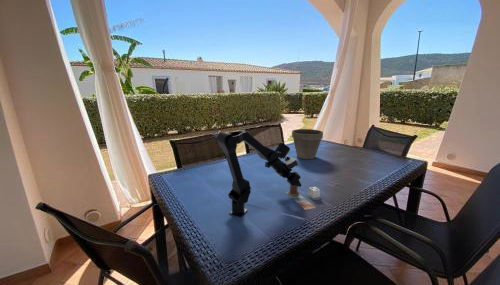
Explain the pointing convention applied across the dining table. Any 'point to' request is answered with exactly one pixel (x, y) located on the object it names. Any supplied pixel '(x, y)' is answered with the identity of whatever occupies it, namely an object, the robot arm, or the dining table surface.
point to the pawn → (293, 190)
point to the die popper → (314, 193)
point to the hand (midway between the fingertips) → (296, 182)
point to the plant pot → (306, 142)
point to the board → (301, 199)
